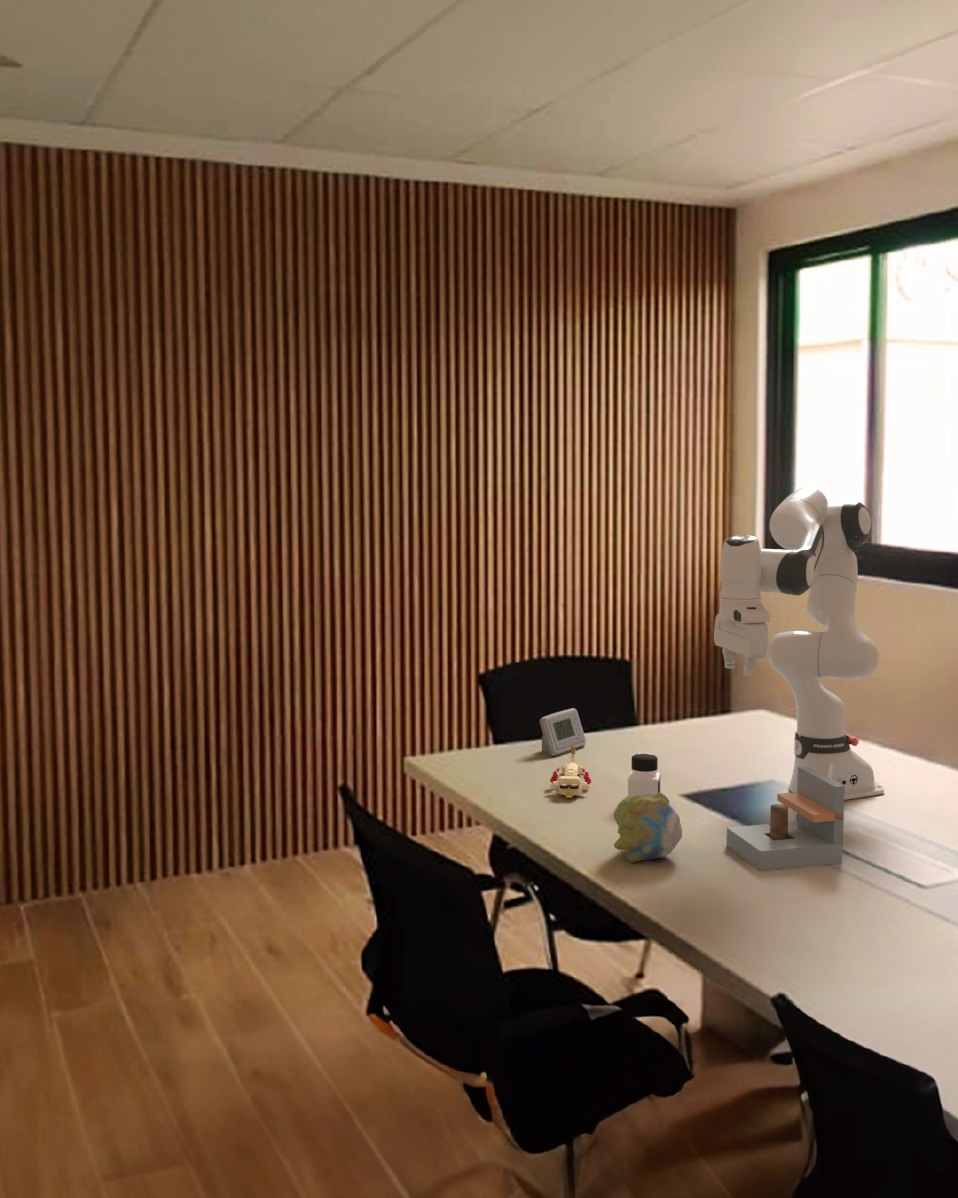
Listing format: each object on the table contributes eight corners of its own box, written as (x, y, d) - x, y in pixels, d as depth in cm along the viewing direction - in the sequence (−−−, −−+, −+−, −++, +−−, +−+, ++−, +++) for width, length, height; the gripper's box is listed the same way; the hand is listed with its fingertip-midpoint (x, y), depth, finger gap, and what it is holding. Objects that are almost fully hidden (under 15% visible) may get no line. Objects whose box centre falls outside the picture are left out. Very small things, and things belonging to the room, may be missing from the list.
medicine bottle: (658, 809, 297) (658, 759, 295) (627, 808, 298) (627, 758, 297) (660, 801, 304) (660, 751, 302) (630, 799, 305) (630, 750, 304)
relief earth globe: (684, 787, 259) (638, 774, 271) (625, 823, 251) (580, 807, 264) (700, 847, 262) (654, 831, 275) (643, 884, 255) (598, 866, 268)
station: (804, 839, 275) (806, 766, 272) (842, 863, 259) (844, 786, 257) (726, 845, 270) (727, 772, 268) (760, 870, 255) (761, 792, 253)
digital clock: (551, 758, 344) (551, 719, 343) (529, 752, 351) (529, 714, 350) (594, 748, 355) (594, 711, 353) (572, 743, 361) (572, 706, 360)
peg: (782, 850, 267) (783, 803, 265) (790, 855, 263) (791, 808, 262) (766, 851, 266) (767, 804, 265) (774, 857, 262) (775, 809, 261)
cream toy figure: (553, 778, 330) (547, 797, 305) (554, 744, 329) (548, 761, 305) (592, 779, 329) (589, 798, 304) (592, 745, 328) (589, 762, 303)
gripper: (707, 604, 290) (706, 664, 292) (746, 616, 270) (745, 681, 272) (733, 603, 292) (732, 663, 293) (773, 615, 272) (772, 679, 274)
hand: (738, 672), depth 283 cm, fingers open, 8 cm apart
